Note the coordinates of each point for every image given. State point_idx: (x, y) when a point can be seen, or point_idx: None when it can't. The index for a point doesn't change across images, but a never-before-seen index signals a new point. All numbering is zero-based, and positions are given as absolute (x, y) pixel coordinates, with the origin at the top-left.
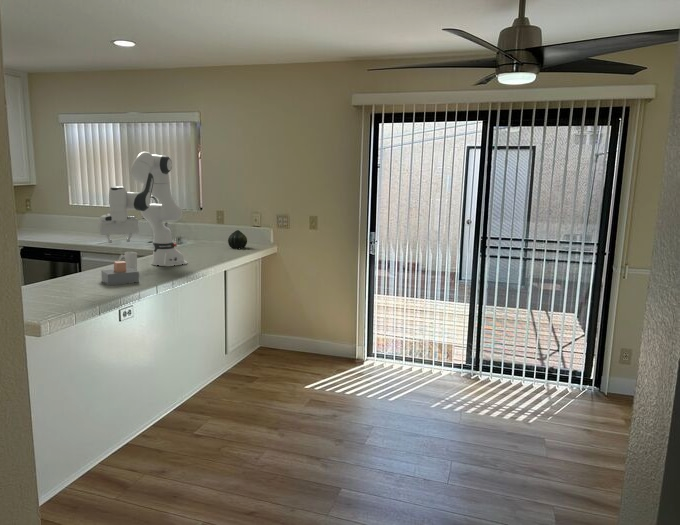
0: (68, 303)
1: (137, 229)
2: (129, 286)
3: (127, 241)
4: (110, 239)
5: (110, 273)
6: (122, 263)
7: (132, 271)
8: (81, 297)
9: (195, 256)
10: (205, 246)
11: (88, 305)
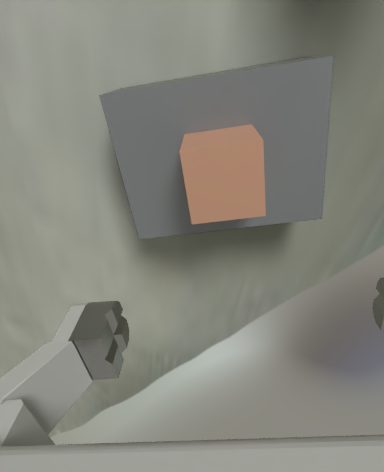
0: None
1: None
2: (237, 254)
3: (378, 320)
4: (95, 356)
5: (155, 218)
6: (236, 216)
7: (290, 199)
8: None
9: None
10: None
11: (93, 406)
